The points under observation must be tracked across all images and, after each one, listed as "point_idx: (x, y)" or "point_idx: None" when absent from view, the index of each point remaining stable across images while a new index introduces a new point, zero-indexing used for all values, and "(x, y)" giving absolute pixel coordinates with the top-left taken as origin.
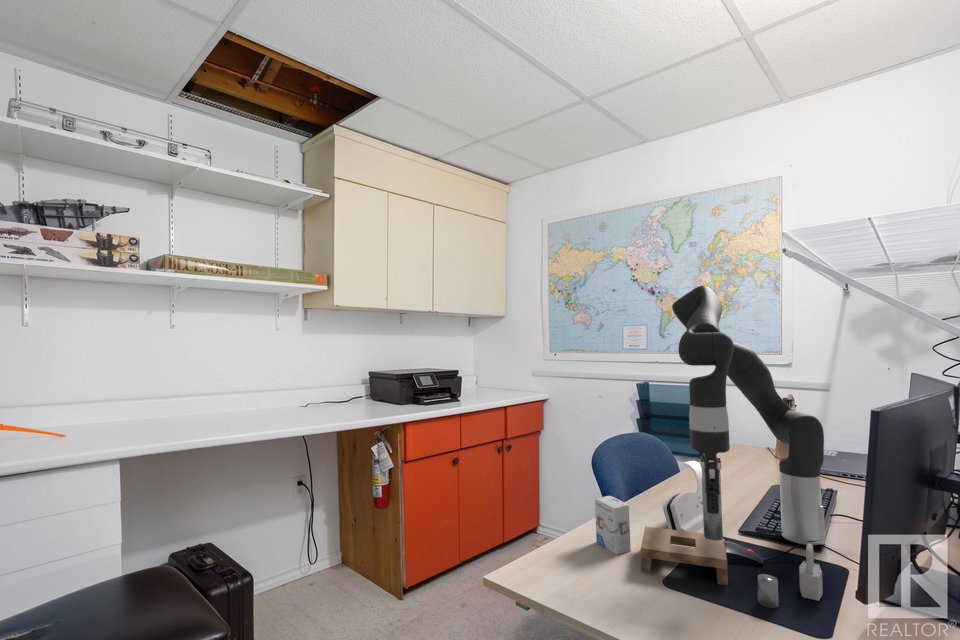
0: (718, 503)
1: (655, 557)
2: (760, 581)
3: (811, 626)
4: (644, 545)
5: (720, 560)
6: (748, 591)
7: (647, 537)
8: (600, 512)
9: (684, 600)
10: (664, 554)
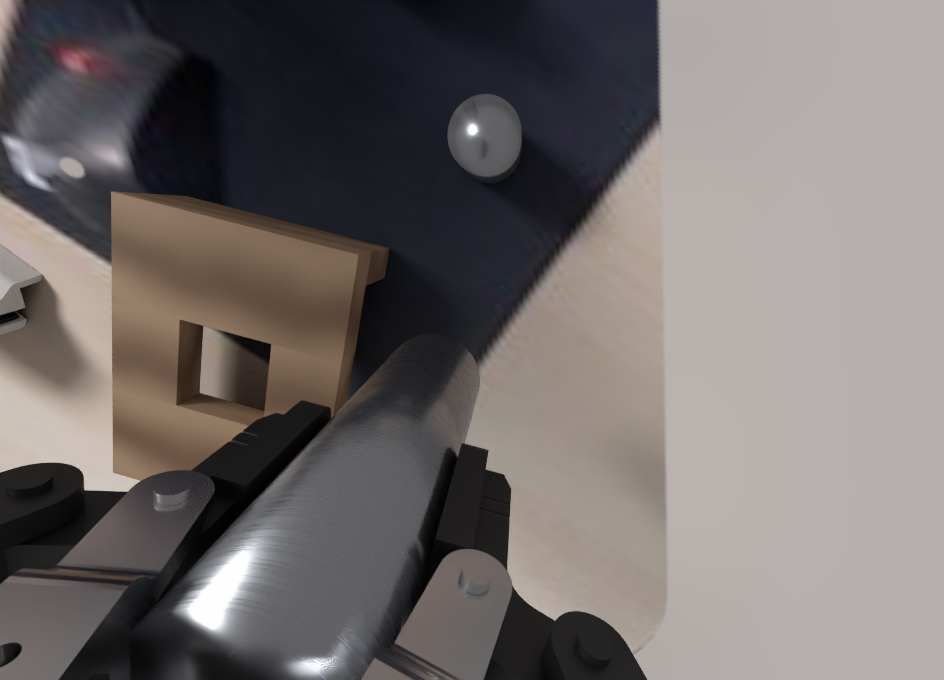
0: (478, 494)
1: None
2: (499, 172)
3: (629, 58)
4: None
5: (357, 278)
6: (418, 190)
7: None
8: None
9: (500, 406)
10: None
